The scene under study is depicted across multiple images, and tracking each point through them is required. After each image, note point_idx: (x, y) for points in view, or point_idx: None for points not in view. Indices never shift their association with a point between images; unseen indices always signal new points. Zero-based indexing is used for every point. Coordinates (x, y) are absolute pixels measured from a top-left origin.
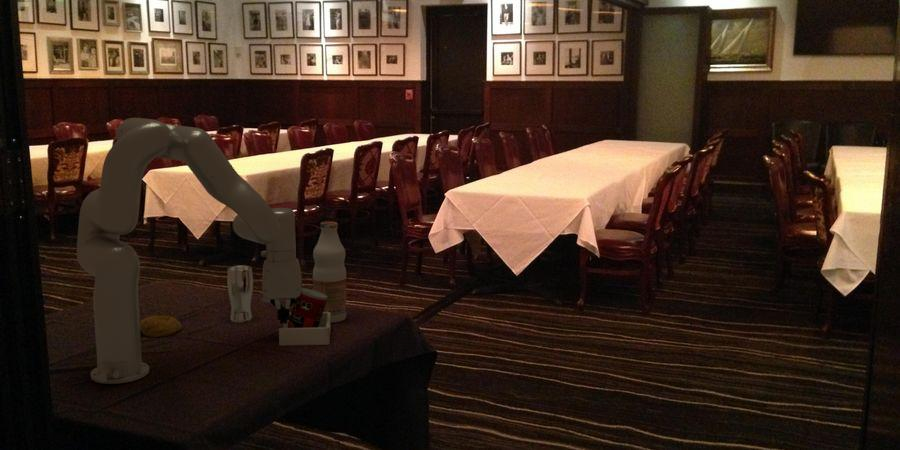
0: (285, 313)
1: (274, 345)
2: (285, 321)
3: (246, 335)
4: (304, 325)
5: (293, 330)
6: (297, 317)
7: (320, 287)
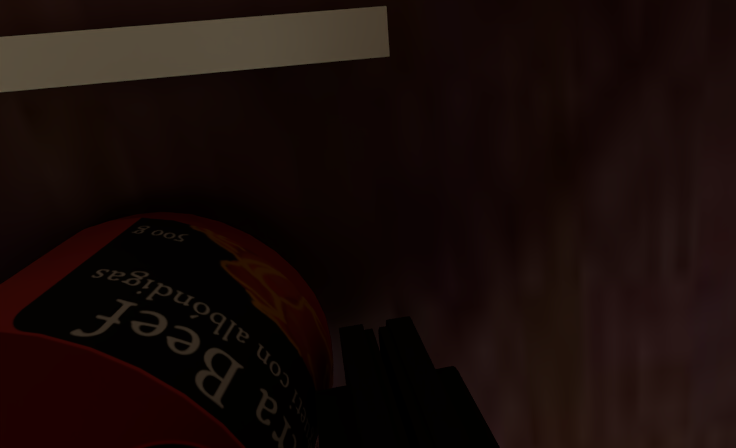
0: (364, 409)
1: (403, 28)
2: (351, 335)
3: (651, 284)
4: (70, 260)
5: (165, 27)
6: (149, 332)
7: None
